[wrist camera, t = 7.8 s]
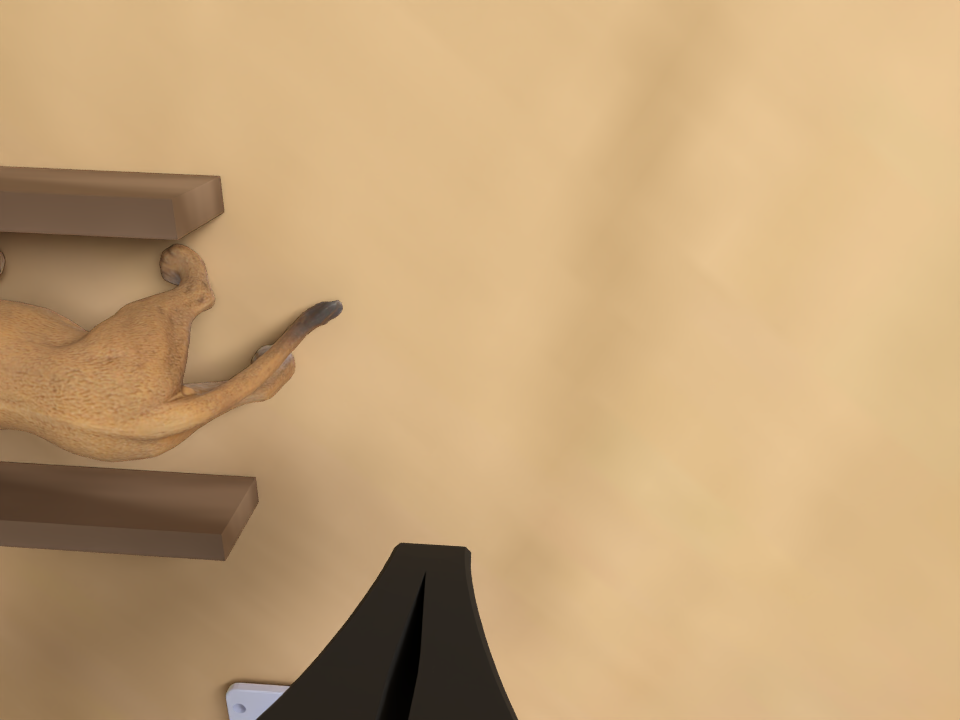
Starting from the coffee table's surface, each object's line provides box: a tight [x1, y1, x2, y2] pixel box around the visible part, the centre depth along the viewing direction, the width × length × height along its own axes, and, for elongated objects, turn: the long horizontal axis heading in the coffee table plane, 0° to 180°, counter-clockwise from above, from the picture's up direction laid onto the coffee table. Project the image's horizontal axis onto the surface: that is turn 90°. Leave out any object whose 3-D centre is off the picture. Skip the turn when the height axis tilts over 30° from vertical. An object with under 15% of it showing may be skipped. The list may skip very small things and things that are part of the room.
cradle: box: [0, 166, 259, 561], centre depth 21 cm, size 11×12×3 cm
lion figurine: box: [0, 244, 343, 462], centre depth 18 cm, size 15×5×9 cm, turn 95°
